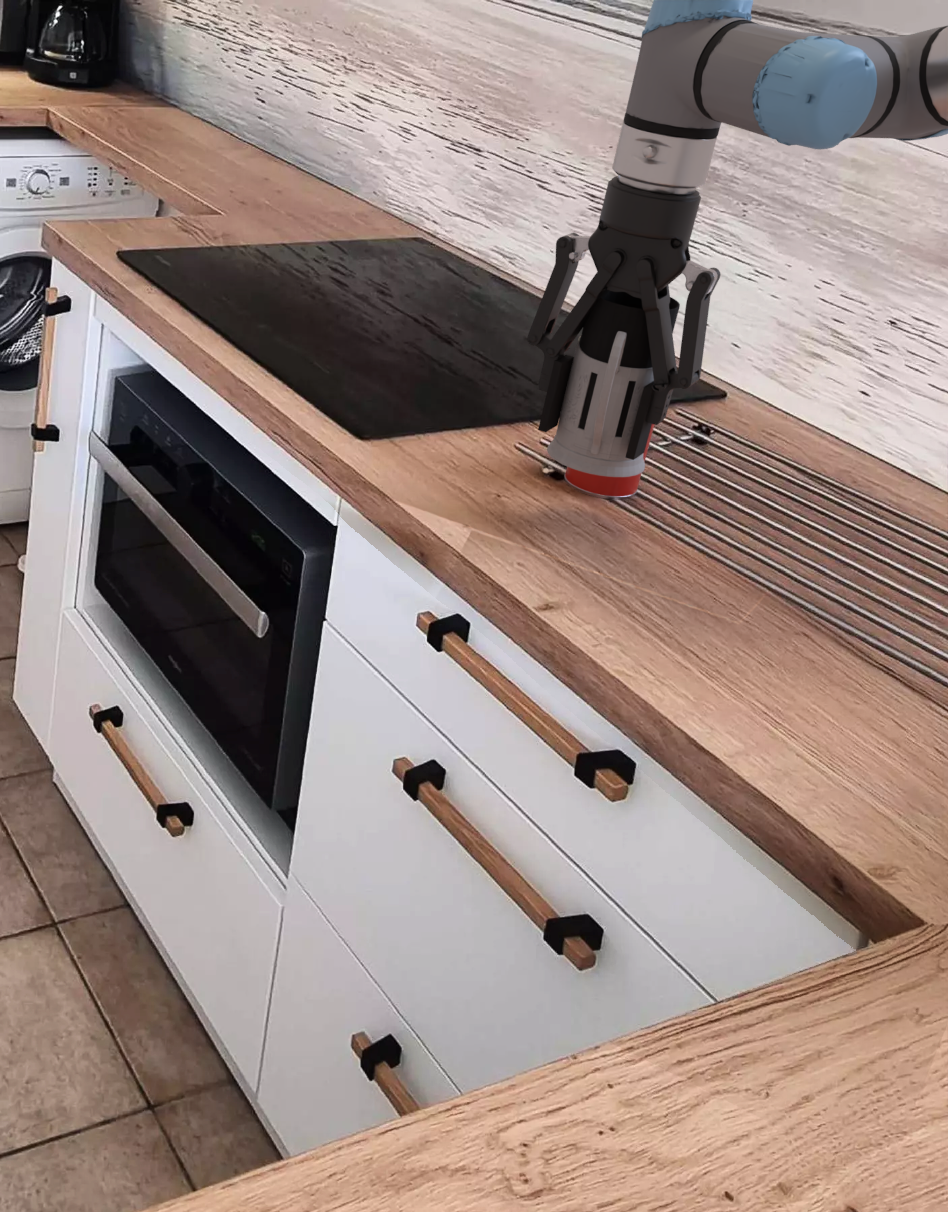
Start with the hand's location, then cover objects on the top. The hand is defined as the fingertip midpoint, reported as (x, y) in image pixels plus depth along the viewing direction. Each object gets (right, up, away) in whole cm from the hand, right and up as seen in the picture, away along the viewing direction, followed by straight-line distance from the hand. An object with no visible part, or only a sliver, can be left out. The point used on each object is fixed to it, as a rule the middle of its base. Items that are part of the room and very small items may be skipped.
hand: (590, 440), depth 141 cm
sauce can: (+5, -3, +16) cm, 17 cm away
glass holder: (0, -3, +1) cm, 3 cm away
